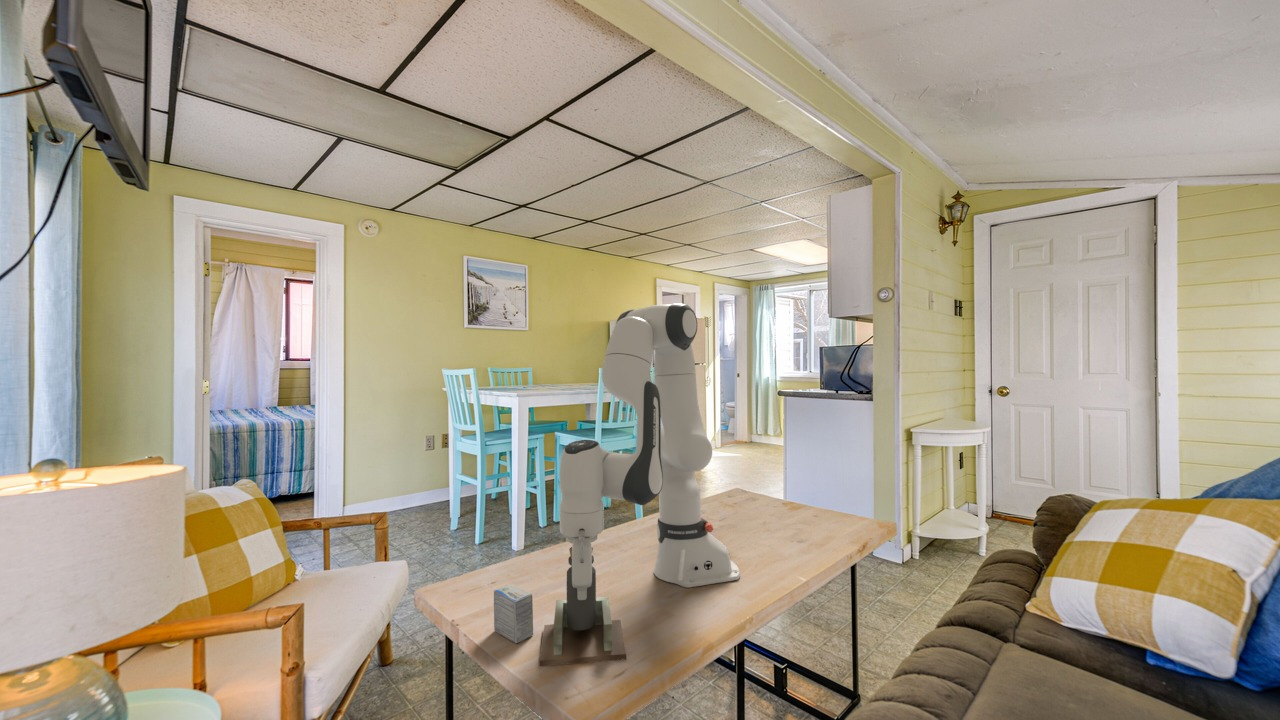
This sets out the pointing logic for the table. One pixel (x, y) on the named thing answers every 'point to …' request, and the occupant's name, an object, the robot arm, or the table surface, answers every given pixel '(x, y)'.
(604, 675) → the table surface
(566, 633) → the u rest
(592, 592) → the bottle
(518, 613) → the medicine box
